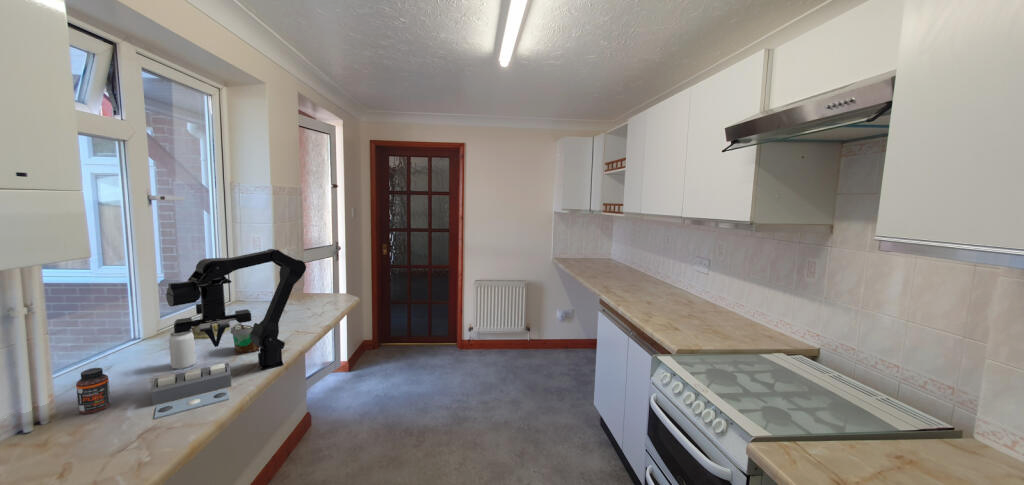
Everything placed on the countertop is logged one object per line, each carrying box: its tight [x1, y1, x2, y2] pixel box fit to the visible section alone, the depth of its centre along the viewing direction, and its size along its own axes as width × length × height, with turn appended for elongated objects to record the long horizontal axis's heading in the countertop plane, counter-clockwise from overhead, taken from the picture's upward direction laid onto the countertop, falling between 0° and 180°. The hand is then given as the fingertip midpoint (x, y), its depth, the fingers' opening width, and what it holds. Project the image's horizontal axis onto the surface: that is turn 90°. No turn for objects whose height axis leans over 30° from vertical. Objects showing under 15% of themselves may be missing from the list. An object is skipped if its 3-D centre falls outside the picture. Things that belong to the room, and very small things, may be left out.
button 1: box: [157, 373, 176, 387], centre depth 110 cm, size 4×4×2 cm
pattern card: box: [153, 388, 230, 420], centre depth 107 cm, size 16×7×1 cm, turn 130°
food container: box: [229, 322, 260, 355], centre depth 141 cm, size 12×6×10 cm, turn 68°
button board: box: [150, 362, 232, 406], centre depth 114 cm, size 18×10×4 cm, turn 130°
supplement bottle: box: [75, 367, 112, 415], centre depth 102 cm, size 6×6×11 cm
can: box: [168, 329, 197, 370], centre depth 129 cm, size 6×6×12 cm
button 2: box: [209, 363, 226, 375], centre depth 118 cm, size 4×4×2 cm
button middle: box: [184, 367, 202, 381], centre depth 114 cm, size 4×4×2 cm
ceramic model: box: [190, 316, 230, 340], centre depth 158 cm, size 14×11×10 cm
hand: (216, 346), depth 117 cm, fingers closed
